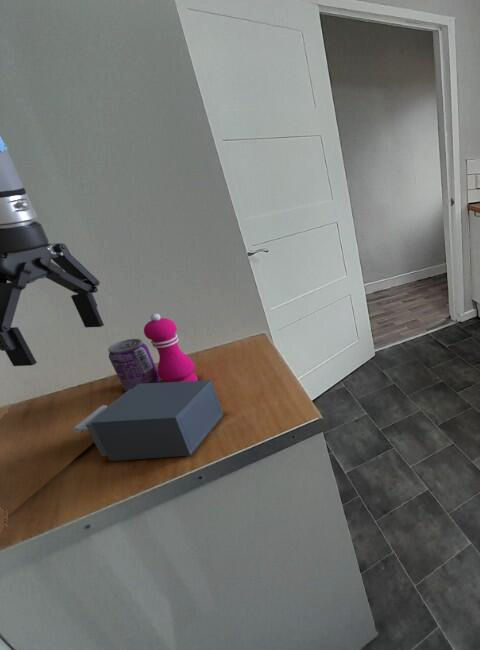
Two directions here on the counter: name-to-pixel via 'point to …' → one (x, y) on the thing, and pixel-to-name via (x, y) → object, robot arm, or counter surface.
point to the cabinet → (159, 420)
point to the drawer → (88, 425)
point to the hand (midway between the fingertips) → (63, 344)
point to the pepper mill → (169, 351)
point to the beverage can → (133, 363)
